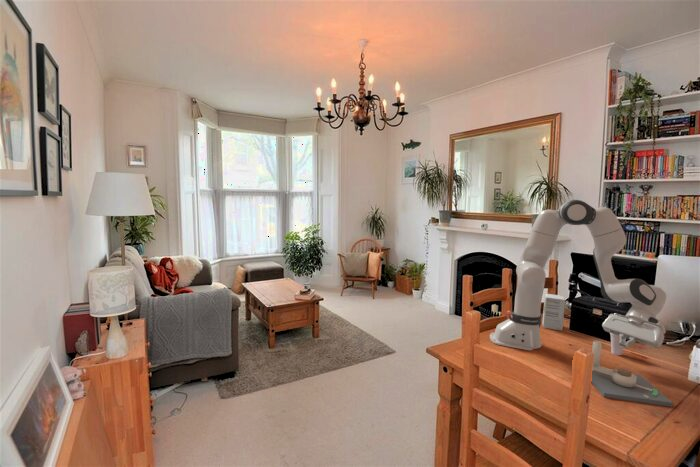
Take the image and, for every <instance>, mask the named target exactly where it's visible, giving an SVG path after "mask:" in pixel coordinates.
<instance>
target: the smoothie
mask: <svg viewBox="0 0 700 467" xmlns="http://www.w3.org/2000/svg"><path fill="white" fill-rule="evenodd" d="M609 334H610V347H611V348H610V349H611V351H610V352H611V354H612V355H614V354H615V355H614V356H619V355H621V356H622V355H623V352H624V348H625V347H623V346H620V345H619V344H618V342H619V341H620V338H619V335H616V334H613V333H610V332H609ZM626 340H627V338H625V339H623V341H625V342H627V341H626Z"/></svg>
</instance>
